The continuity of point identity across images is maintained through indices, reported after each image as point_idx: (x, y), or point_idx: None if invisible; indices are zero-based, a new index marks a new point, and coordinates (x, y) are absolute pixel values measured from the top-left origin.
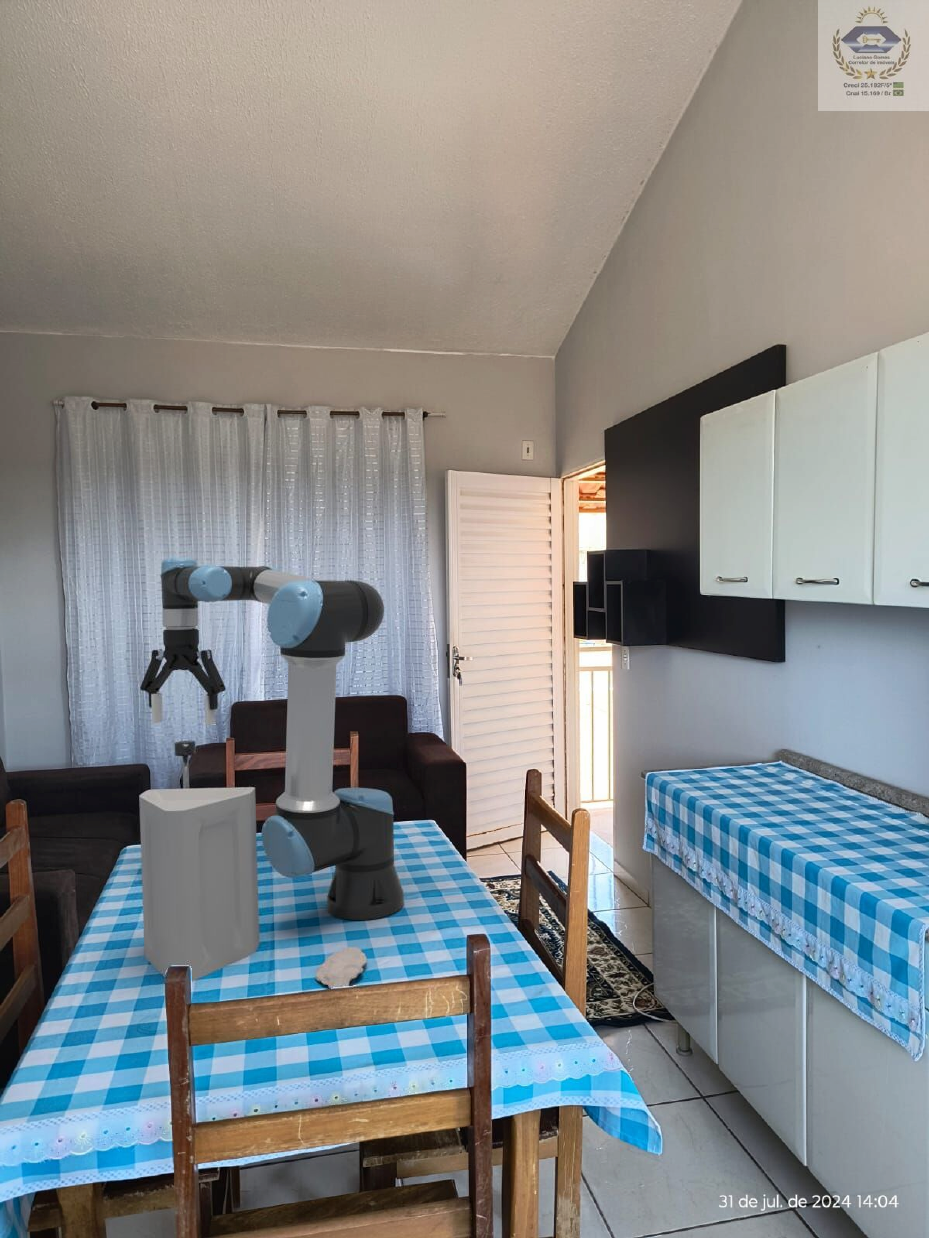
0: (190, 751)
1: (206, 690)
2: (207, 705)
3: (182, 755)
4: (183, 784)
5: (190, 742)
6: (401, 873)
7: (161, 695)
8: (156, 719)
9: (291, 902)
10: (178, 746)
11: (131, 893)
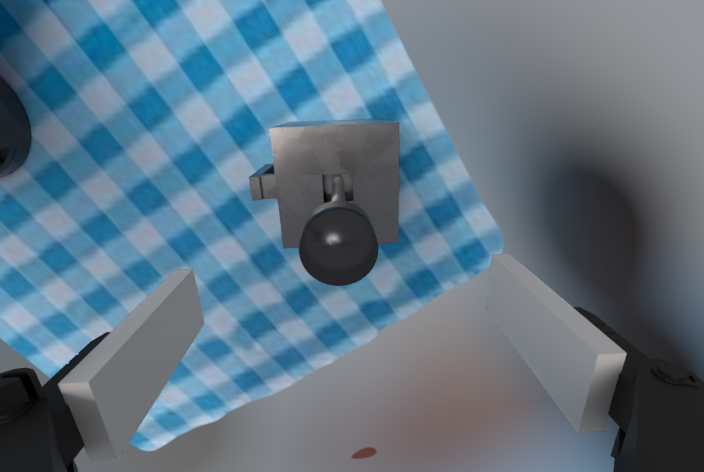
0: (304, 226)
1: (37, 428)
2: (114, 332)
3: (324, 204)
4: (342, 199)
5: (315, 254)
6: (18, 257)
7: (565, 412)
8: (498, 274)
9: (87, 97)
10: (338, 209)
11: (371, 58)
